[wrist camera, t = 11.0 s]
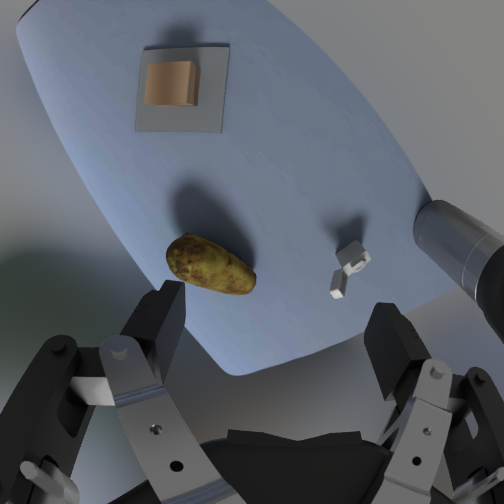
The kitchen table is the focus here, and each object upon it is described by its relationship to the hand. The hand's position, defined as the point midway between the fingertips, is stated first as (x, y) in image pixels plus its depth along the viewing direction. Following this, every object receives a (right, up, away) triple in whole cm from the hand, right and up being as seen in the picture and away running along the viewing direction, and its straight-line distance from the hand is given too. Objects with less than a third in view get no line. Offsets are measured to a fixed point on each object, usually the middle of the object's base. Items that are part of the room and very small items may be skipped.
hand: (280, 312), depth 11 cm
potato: (-7, +2, +31) cm, 32 cm away
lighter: (+12, +2, +31) cm, 33 cm away
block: (-10, +24, +20) cm, 33 cm away
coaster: (-11, +24, +21) cm, 33 cm away
